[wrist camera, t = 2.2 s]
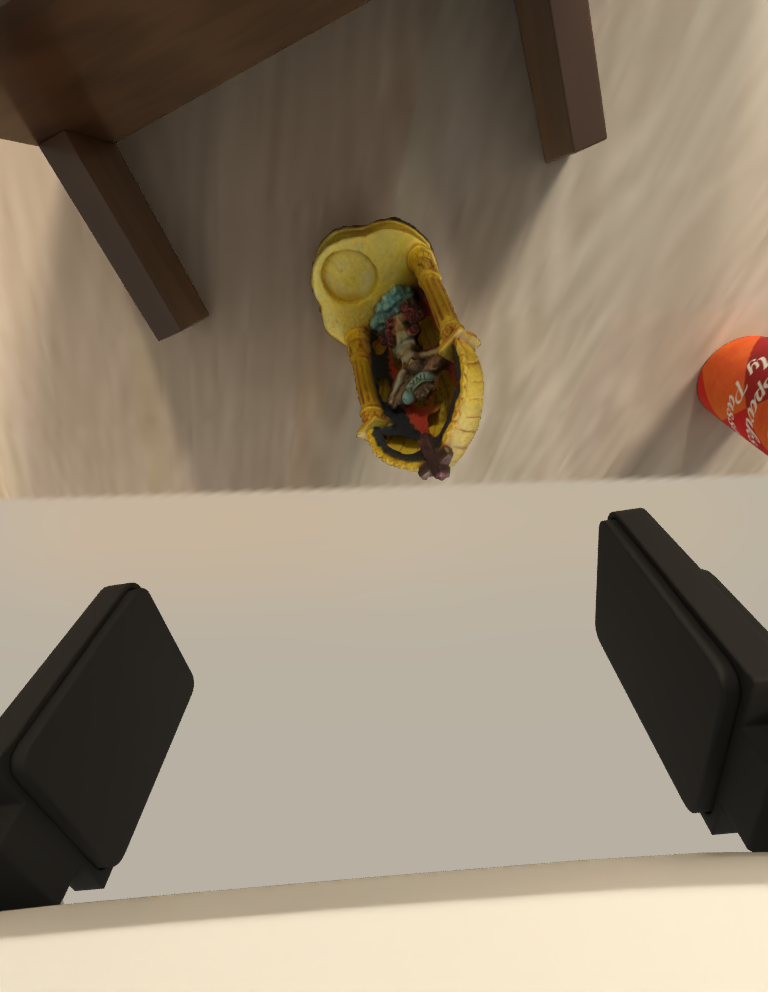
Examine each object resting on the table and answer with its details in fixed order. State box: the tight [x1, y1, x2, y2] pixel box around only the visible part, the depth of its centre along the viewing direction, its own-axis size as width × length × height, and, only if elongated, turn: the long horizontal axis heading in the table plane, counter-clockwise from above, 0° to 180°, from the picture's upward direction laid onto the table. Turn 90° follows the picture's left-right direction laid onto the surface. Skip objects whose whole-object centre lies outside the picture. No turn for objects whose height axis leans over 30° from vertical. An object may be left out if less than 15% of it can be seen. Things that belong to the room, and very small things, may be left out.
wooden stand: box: [0, 0, 607, 341], centre depth 20 cm, size 28×12×15 cm, turn 112°
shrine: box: [310, 217, 484, 481], centre depth 25 cm, size 12×8×15 cm
